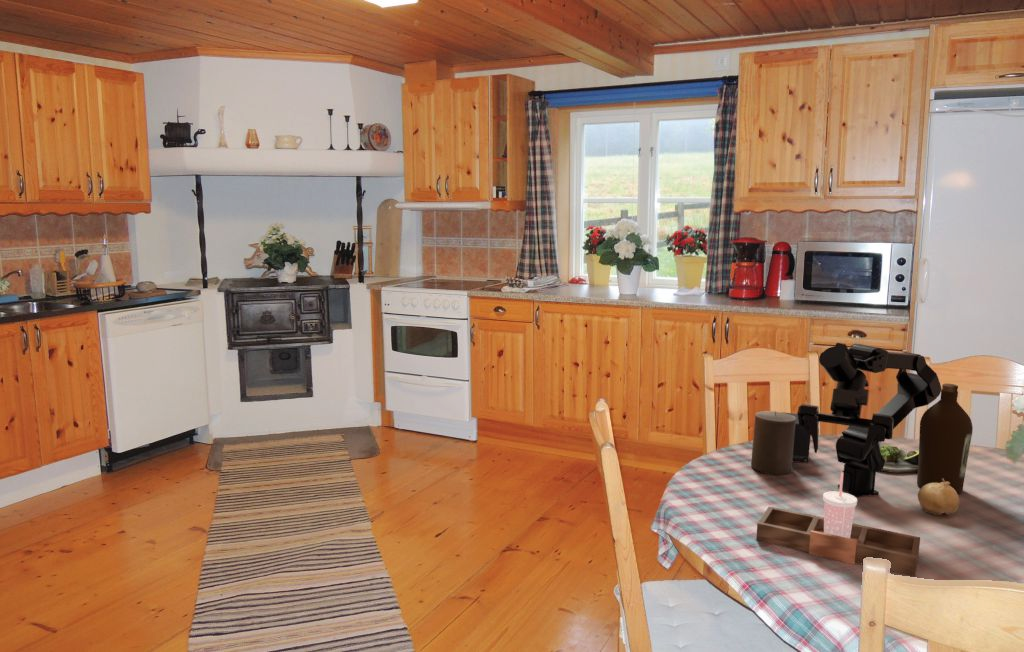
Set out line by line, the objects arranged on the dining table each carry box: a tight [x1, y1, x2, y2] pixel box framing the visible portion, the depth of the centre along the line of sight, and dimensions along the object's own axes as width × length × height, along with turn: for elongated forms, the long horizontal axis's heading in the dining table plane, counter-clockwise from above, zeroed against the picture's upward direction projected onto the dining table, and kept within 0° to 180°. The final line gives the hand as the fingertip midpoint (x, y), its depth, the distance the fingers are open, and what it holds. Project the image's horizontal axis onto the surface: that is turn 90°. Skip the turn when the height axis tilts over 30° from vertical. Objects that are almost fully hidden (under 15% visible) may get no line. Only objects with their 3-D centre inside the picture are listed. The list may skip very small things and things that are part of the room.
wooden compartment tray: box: [755, 506, 921, 577], centre depth 148 cm, size 28×11×4 cm, turn 59°
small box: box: [781, 411, 812, 464], centre depth 200 cm, size 11×6×10 cm, turn 168°
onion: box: [917, 478, 960, 516], centre depth 165 cm, size 8×8×7 cm
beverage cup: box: [822, 471, 858, 538], centre depth 147 cm, size 6×6×14 cm
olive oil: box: [916, 383, 973, 496], centre depth 177 cm, size 11×11×25 cm
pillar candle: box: [750, 410, 796, 476], centre depth 190 cm, size 10×10×15 cm
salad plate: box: [880, 445, 919, 473], centre depth 196 cm, size 19×18×5 cm
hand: (838, 455), depth 161 cm, fingers open, 9 cm apart
